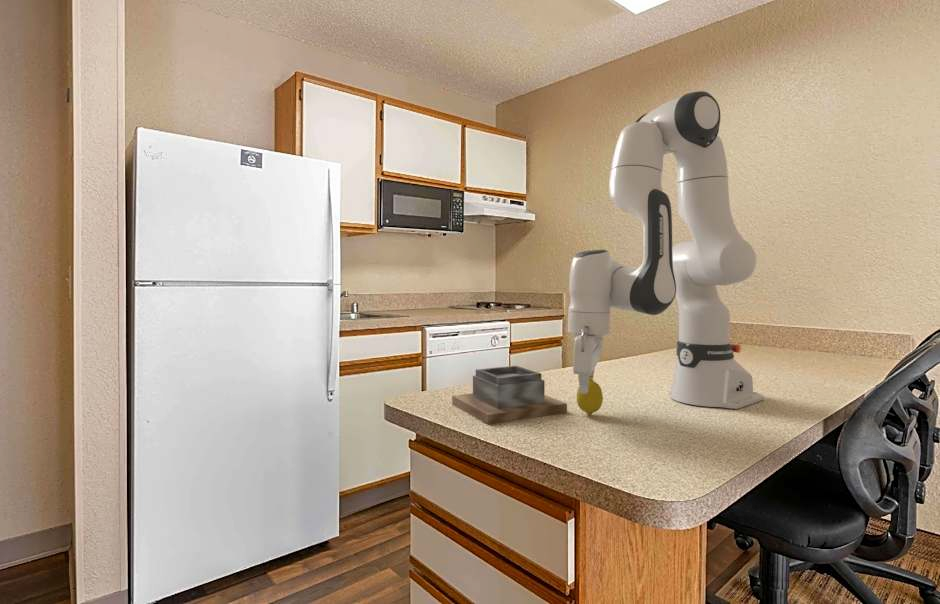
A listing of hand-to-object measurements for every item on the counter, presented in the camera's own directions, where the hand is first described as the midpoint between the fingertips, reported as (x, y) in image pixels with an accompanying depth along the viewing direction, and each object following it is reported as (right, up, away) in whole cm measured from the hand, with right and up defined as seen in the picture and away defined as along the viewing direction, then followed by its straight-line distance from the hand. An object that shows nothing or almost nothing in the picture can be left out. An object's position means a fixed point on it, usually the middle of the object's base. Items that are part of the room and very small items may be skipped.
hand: (586, 388), depth 108 cm
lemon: (+1, -6, 0) cm, 6 cm away
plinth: (-17, -6, +6) cm, 19 cm away
